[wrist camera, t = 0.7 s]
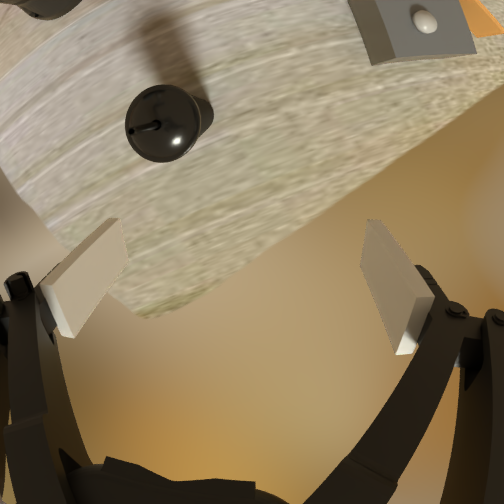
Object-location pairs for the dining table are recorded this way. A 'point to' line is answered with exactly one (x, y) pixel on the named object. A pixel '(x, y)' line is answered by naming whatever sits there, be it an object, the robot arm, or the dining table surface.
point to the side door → (480, 19)
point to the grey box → (412, 29)
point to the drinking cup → (166, 122)
